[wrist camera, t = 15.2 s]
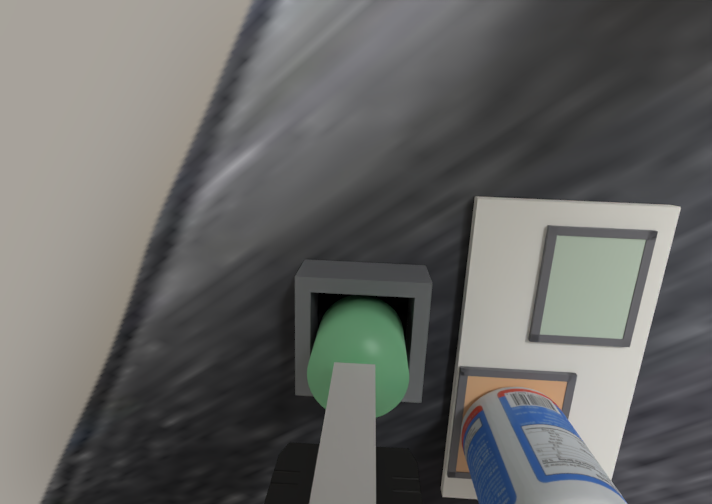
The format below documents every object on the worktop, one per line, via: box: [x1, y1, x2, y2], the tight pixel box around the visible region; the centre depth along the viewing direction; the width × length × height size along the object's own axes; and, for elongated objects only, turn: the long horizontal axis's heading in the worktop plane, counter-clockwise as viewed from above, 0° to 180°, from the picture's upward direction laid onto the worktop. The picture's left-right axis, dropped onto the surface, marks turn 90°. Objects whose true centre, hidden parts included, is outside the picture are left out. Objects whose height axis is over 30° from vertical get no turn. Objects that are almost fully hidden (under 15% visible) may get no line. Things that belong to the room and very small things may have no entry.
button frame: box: [295, 259, 432, 403], centre depth 20 cm, size 6×6×3 cm
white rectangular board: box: [441, 196, 681, 499], centre depth 21 cm, size 17×9×1 cm, turn 178°
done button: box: [307, 295, 409, 418], centre depth 18 cm, size 4×4×4 cm
